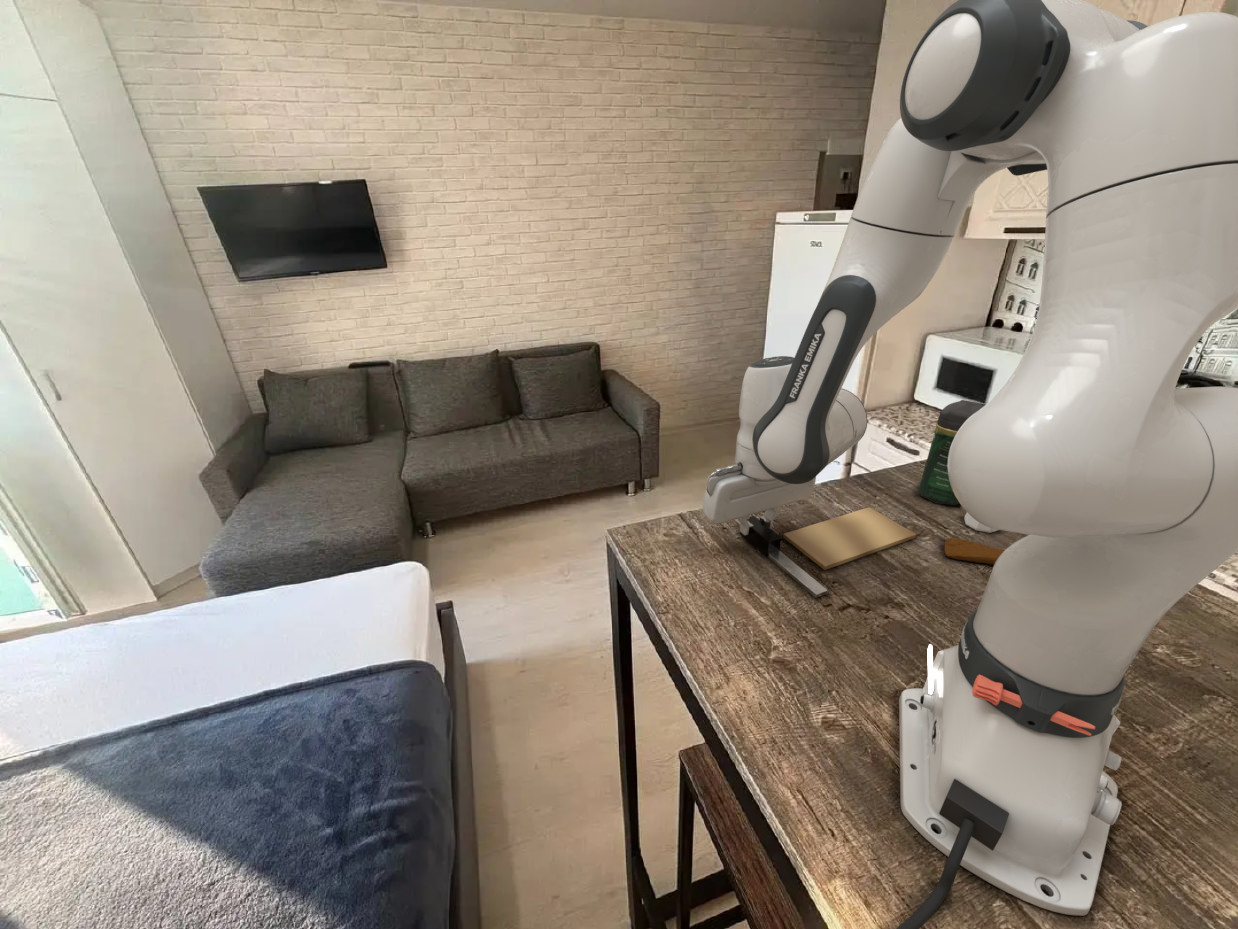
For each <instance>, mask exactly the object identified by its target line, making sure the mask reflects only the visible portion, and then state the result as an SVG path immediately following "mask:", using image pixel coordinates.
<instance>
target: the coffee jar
mask: <svg viewBox="0 0 1238 929" xmlns="http://www.w3.org/2000/svg"><path fill="white" fill-rule="evenodd" d="M985 405H986V403H981V402H977V401H971V400H966V399H960V400H959V401H955V402H951V403H949V404H947V405H946V406H944V407H943V408H942V409H941V411H940V412H939V415H938V418H937V421H936V425H935V429H934V433H933V437H932V440H931V444H930V448H929V450H928V454H927V458H926V462H925V465H924V470H923V471H922V475H921V479H920V482H919V486H918V488H917V489H918V490H917V491H918V494H919V496H921V497H923V498H924V499H927V500H929V501H930V502H932V503H935V504H939V505H942V504H943V505H950V506H957V505H959V504H960V503H959V501H958V500H957V498H956V496H955V494H954V492H953V490H952V488H951V485H950V481H949V476H948V455H949V450H950V447H951V444H952V442H953V439H954V437H955V435H956V433H957V432H958V430H959V429H960V427H961V426H962V425H963V423H964V422H965V421H966V420H967V419H968V418H969V417H970V416H972V415H973V414H974V413H976V412H977V411H979V410H980V409H981V408H982V407H984V406H985Z"/></svg>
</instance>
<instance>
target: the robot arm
mask: <svg viewBox="0 0 1238 929" xmlns="http://www.w3.org/2000/svg"><path fill="white" fill-rule="evenodd" d="M899 93H900V94H899V113H900V118H899V119H897V121H895V122H894V123H893V125H892V126H891V127H890V129H889V131H888V132H887V134H886V136H885V137H884V139H883V142H882V144H881V146H880V147H879V149H878V151H877V153H876V155H875V157H874V159H873V162H872V163H871V165H870V167H869V170H868V171H867V174H866V177H865V179H864V181H863V183H862V186H861V188H860V190H859V193H858V196H857V198H856V201H855V204H854V206H853V209H852V212H851V215H850V218H849V220H848V224H847V227H846V230H845V232H844V236H843V239H842V242H841V244H840V247H839V250H838V252H837V255H836V257H835V261H834V264H833V267H832V269H831V272H830V274H829V277H828V279H827V282H826V284H825V286H824V289H823V291H822V293H821V296H820V298H819V300H818V303H817V305H816V307H815V309H814V310H813V312H812V315H811V317H810V320H809V321H808V324H807V325H806V329H805V331H804V334H803V336H802V338H801V341H800V342H799V345H798V348H797V350H796V353H795V355H794V357H793V356H787V355H780V356H771V357H765V358H762V359H759V360H757V361H754V362H753V363H751V364H750V365H749V366H748V367H747V368H746V371H745V373H744V375H743V380H742V384H741V389H740V397H739V405H738V406H739V407H738V417H739V422H740V423H739V424H740V425H739V430H738V432H737V436H736V443H735V444H736V445H735V456H734V463H733V464H730V465H728V466H724V467H723V466H721V467H718V468H716V469H714V471H713V472H712V473H711V474H709V476H708V477H707V478H706V485H705V486H706V488H705V491H704V496H703V503H702V513H703V515H704V516H705V517H706V518H707V519H708V520H709V521H711V522H712V523H713V524H714V525H720V524H723V523H727V522H730V521H733V520H738V522H739V532H740V531H741V533H743V534H744V535H748V534H751V533H753V528H754V525H752V524H751V523H750V522H749V521H748V519H749V518H750V517H751V516H752V515H754V514H757V513H761V512H764V514H763V515H762V516H759V520H760V521H761V522H762V523H763V524H765V525H766V526H767V527H769V528H770V529H771V528H773V526H774V525H773V524H774V520H775V519H776V517H777V516H778V514H779V513H780V511H781V507H783V506H786V505H790V504H793V503H795V502H799V501H803V500H807V499H809V498H810V497H811V496H812V494H813V493H814V490H815V486H816V480H817V476H818V475H819V474H820V473H821V472H822V471H824V469H826V467H827V466H828V465H830V464H831V463H833V462H834V461H835V460H837V459H838V458H839V457H841V456H842V455H843V454H845V452H847V451H848V450H850V449H851V448H853V447H854V446H855V445H856V444H858V442H860V441H861V439H863V437H864V435H865V434H866V431H867V428H868V414H867V410H866V408H865V405H864V403H863V402H862V401H861V399H860V398H859V397H858V395H855V393H853V392H852V391H849V390H848V389H845V388H843V385H844V384H845V382H846V379H847V377H848V375H849V373H850V370H851V369H852V366H853V364H854V362H855V360H856V358H857V357H858V355H859V353H860V352H861V350H862V349H863V347H864V346H865V345H866V344H867V343H868V341H869V340H870V339H871V338H872V337H873V336H874V335H875V334H876V333H877V332H878V331H879V330H880V329H881V328H882V327H884V326H885V324H887V323H888V322H889V321H891V319H892V318H894V317H895V316H896V315H898V314H899V313H900V312H901V311H903V310H904V309H906V308H907V307H908V306H909V305H911V304H913V302H914V301H916V300H917V299H918V298H919V297H920V296H921V295H922V294H923V292H924V291H925V289H926V288H927V287H928V285H929V284H930V282H931V281H932V279H933V278H934V276H935V275H936V273H937V272H938V270H939V268H940V267H941V265H942V263H943V261H944V260H945V258H946V256H947V254H948V253H949V250H950V248H951V246H952V244H953V241H954V239H955V235H956V234H957V232H958V230H959V227H960V225H961V223H962V220H963V218H964V216H965V213H966V211H967V208H968V206H969V204H970V202H971V201H972V199H973V196H974V195H975V194H976V191H977V190H978V189H979V187H980V186H981V185H982V184H983V183H984V182H985V181H986V180H988V179H989V178H990V177H991V176H993V175H994V174H996V173H998V172H1000V171H1003V170H1004V169H1007V170H1008V172H1009V173H1011V175H1013V176H1016V177H1019V176H1024V175H1028V174H1033V173H1038V172H1042V171H1047V197H1046V198H1047V199H1046V214H1045V234H1044V252H1043V264H1042V265H1043V266H1042V277H1041V289H1040V297H1039V298H1040V299H1039V307H1038V312H1037V316H1036V320H1035V325H1034V328H1033V331H1032V334H1031V336H1030V340H1029V342H1028V344H1027V347H1026V348H1025V350H1024V353H1023V355H1022V357H1021V359H1020V360H1019V363H1018V364H1017V366H1016V368H1015V370H1014V371H1013V373H1012V374H1011V376H1010V377H1009V379H1008V380H1007V382H1006V383H1005V384H1004V386H1003V387H1002V388H1001V389H1000V390H999V391H998V393H997V394H996V395H995V396H994V397H993V398H991V399H990V401H988V403H985V406H984V407H982V408H981V409H980V410H979V411H977V412H976V413H974V414H973V415H972V416H970V417H969V418H968V419H967V420H966V421H965V422H964V423H963V425H962V426H961V427H960V429H959V430H958V432H957V433H956V435H955V437H954V439H953V442H952V444H951V447H950V450H949V455H948V476H949V481H950V485H951V488H952V490H953V492H954V494H955V496H956V498H957V500H958V501H959V504H960V506H961V507H962V509H964V510H965V512H966V513H967V512H968V514H969V515H970V516H971V517H973V518H974V519H975V520H976V521H978V522H979V523H981V524H983V525H985V526H987V527H990V528H993V529H998V531H1004V532H1011V533H1017V534H1023V535H1026V536H1023V537H1022V538H1020V539H1018V540H1017V541H1015V542H1013V543H1012V544H1011V545H1009V546H1007V547H1006V549H1004V550H1005V551H1004V552H1003V553H1002V554H1001V555H1000V556H999V557H998V559H997V560H996V562H995V564H994V565H993V566H992V570H991V572H990V575H989V577H988V580H987V583H986V586H985V588H984V591H983V594H982V597H981V599H980V601H979V605H978V607H977V608H976V609H975V610H974V611H972V613H971V614H970V615H969V617H968V619H967V620H966V622H965V624H964V625H963V628H962V631H961V635H960V639H959V642H958V644H956V645H954V646H951V647H948V648H944V649H942V650H939V651H937V653H936V655H935V657H934V656H933V655H934V654H933V645H932V644H931V643H930V644H928V647H927V650H926V651H927V676H926V677H927V678H926V680H925V682H924V685H923V687H922V688H921V687H920V688H919V687H918V688H917V687H916V688H906V689H904V690H903V691H901V694H900V695H899V697H898V716H899V717H898V718H899V720H898V721H899V724H898V725H899V726H898V727H899V728H898V729H899V790H900V791H899V792H900V793H899V795H900V797H899V798H900V809H901V813H902V814H903V816H904V817H905V818H906V820H907V821H908V822H909V823H910V825H911V826H912V827H913V828H914V829H915V830H916V831H917V832H918V833H919V834H920V835H921V836H922V837H923V838H924V839H925V840H926V841H928V842H929V844H931V845H932V846H933V847H935V849H937V850H938V851H939V852H941V853H942V854H944V855H945V856H946V857H947V859H946V862H945V863H944V866H943V870H942V873H941V876H940V879H939V881H938V883H937V884H936V886H935V887H934V888H933V890H932V892H931V893H930V895H929V896H928V897H927V898H926V899H925V901H924V902H923V903H922V904H921V905H920V906H919V907H918V909H916V910H915V911H914V912H913V913H912V914H911V915H909V917H908V918H907V919H905V920H904V921H903V922H902V923H901V924H899V925H898V926H897V927H896V928H895V929H920V928H921V927H922V926H923V925H924V924H925V923H926V922H927V921H928V920H929V919H930V918H931V917H932V916H933V915H934V914H935V912H937V910H938V909H939V907H940V906H941V905H942V904H943V902H944V900H945V899H946V898H947V896H948V895H949V893H950V891H951V889H952V887H953V884H954V882H955V880H956V876H957V874H958V871H959V868H960V866H961V867H962V868H964V869H966V871H968V872H970V873H972V874H974V875H975V876H977V877H979V878H980V879H982V880H984V881H986V882H987V883H989V884H991V885H992V886H994V887H996V888H998V889H999V890H1002V891H1003V892H1006V893H1007V894H1009V895H1011V896H1013V897H1015V898H1018V899H1020V900H1022V901H1024V902H1026V903H1029V904H1032V905H1033V906H1036V907H1038V908H1041V909H1044V910H1046V911H1047V910H1048V911H1050V912H1053V913H1058V914H1063V915H1068V916H1082V917H1083V916H1087V915H1088V914H1089V912H1090V910H1091V908H1092V905H1093V902H1094V899H1095V894H1096V890H1097V885H1098V881H1099V877H1100V871H1101V868H1102V864H1103V858H1104V855H1105V850H1106V844H1107V841H1108V837H1109V832H1110V828H1111V826H1113V825H1114V824H1115V823H1116V822H1117V820H1118V818H1119V816H1120V813H1121V809H1122V800H1120V799H1119V798H1118V793H1119V787H1118V785H1117V783H1116V781H1115V780H1114V779H1113V778H1112V777H1111V776H1110V775H1109V774H1108V773H1106V771H1104V768H1105V767H1106V768H1109V769H1111V770H1113V771H1118V769H1119V768H1120V766H1121V763H1122V760H1123V758H1122V756H1121V755H1119V754H1118V753H1115V752H1113V751H1111V750H1110V745H1111V742H1112V738H1113V735H1114V734H1115V733H1116V731H1117V730H1118V728H1119V726H1120V725H1121V720H1119V719H1118V718H1117V715H1116V714H1115V713H1116V712H1117V711H1118V709H1119V706H1120V704H1121V702H1122V698H1123V695H1124V694H1123V692H1124V690H1125V689H1124V688H1125V687H1126V681H1127V680H1126V678H1127V677H1126V673H1127V671H1128V670H1129V668H1130V667H1131V665H1132V663H1133V661H1134V660H1135V658H1136V656H1137V655H1138V654H1139V652H1140V650H1141V649H1142V647H1143V646H1144V644H1145V642H1146V641H1147V639H1148V638H1149V636H1150V635H1151V633H1152V632H1153V630H1154V628H1155V627H1156V625H1158V623H1159V622H1160V621H1161V619H1162V618H1163V617H1164V616H1165V615H1166V614H1167V613H1168V612H1169V611H1170V610H1171V608H1173V606H1175V605H1176V604H1177V603H1178V602H1179V601H1180V600H1181V599H1182V598H1184V596H1186V595H1187V594H1188V593H1190V591H1192V590H1193V589H1194V588H1195V587H1196V586H1197V585H1199V584H1200V583H1201V582H1202V581H1203V580H1205V579H1206V578H1207V577H1208V576H1209V575H1211V574H1212V573H1213V572H1214V571H1215V570H1217V569H1218V568H1219V567H1221V565H1223V564H1224V563H1225V562H1226V561H1228V560H1229V559H1230V558H1231V557H1233V556H1234V555H1235V554H1236V553H1237V552H1238V387H1231V386H1204V387H1203V386H1202V387H1185V388H1184V387H1181V388H1177V385H1178V381H1179V378H1180V376H1181V373H1182V370H1183V368H1184V367H1185V364H1186V362H1187V360H1188V358H1189V356H1190V354H1191V353H1192V351H1193V349H1194V348H1195V346H1196V345H1197V344H1198V342H1199V340H1200V339H1201V338H1202V337H1203V335H1204V334H1206V332H1207V331H1208V330H1209V328H1210V327H1212V326H1214V324H1216V323H1217V322H1218V321H1220V320H1222V319H1224V318H1226V317H1227V316H1228V315H1230V314H1232V313H1233V312H1234V311H1236V310H1237V309H1238V16H1237V15H1234V14H1231V13H1227V12H1223V11H1222V12H1219V11H1201V12H1195V13H1187V14H1183V15H1179V16H1174V17H1170V18H1167V19H1164V20H1162V21H1159V22H1155V23H1154V24H1151V25H1146V24H1145V23H1143V22H1140V21H1136V20H1129V19H1128V20H1126V19H1125V18H1123V17H1120V16H1119V15H1117V14H1115V13H1112V12H1110V11H1108V10H1105V9H1102V8H1099V7H1097V6H1096V5H1094V4H1092V2H1089V1H1085V0H956V1H955V2H953V3H952V4H950V6H948V7H947V8H946V9H945V10H944V11H942V12H941V13H940V14H939V16H938V17H937V18H936V19H935V20H934V21H933V22H932V23H931V25H930V26H929V27H928V28H927V30H926V31H925V33H924V34H923V36H922V38H920V40H919V42H918V44H917V45H916V48H915V49H914V51H913V53H912V55H911V57H910V59H909V61H908V64H907V66H906V69H905V73H904V75H903V79H902V83H901V87H900V92H899ZM933 829H934V830H936V831H937V832H938V833H936V832H935V831H934V830H933ZM1044 891H1045V892H1046V893H1047V894H1048V895H1047V894H1046V893H1045V892H1044Z"/></svg>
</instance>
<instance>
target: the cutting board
mask: <svg viewBox="0 0 1238 929" xmlns="http://www.w3.org/2000/svg"><path fill="white" fill-rule="evenodd" d="M916 536H917V534H916V533H915V532H913V531H911V530H909V529H908V528H906V527H904V526H902V525H901V524H899V523H898V522H896V521H895V520H892V519H890V518H889V517H888V516H885V515H884V514H883V513H881V512H879V511H877V510H875V509H873V508H872V507H871V506H868V507H865V508H862V509H858V510H855V511H852V512H848V513H846V514H843V515H839V516H836V517H832V518H830V519H826V520H823V521H819V522H816V523H814V524H810V525H807V526H804V527H801V528H797V529H795V530H791V531H787V532H784V533H783V534H782V538H783V539H784V540H785V541H787V542H788V543H789V544H791V545H792V546H793V547H794V548H796V550H798V551H799V552H800V553H802V554H803V555H804V556H806V557H807V558H808V559H809V560H811V561H812V562H814V563H815V564H816V565H817V566H818V567H820V568H821V569H822V570H824V571H826V570H829V569H832V568H834V567H837V566H840V565H843V564H846V563H849V562H852V561H855V560H857V559H860V558H863V557H865V556H868V555H871V554H874V553H878V552H880V551H883V550H885V549H889V548H892V547H894V546H897V545H900V544H902V543H905V542H908V541H911V540H913V539H916Z"/></svg>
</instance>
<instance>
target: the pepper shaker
mask: <svg viewBox="0 0 1238 929" xmlns="http://www.w3.org/2000/svg"><path fill="white" fill-rule="evenodd" d="M963 520H964V523H965V525H966V526H967V527H969V528H971V529H973V530H974V531H977V532H982V533H987V534H991V533H994V532H999V530H998V529H993V528H990V527H987V526H985V525H983V524H981V523H979V522H978V521H976V520H975V519H974V518H973V517H971V516H970V515H969V514H968V512H967V511H966V513H965V515H964V517H963Z"/></svg>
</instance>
